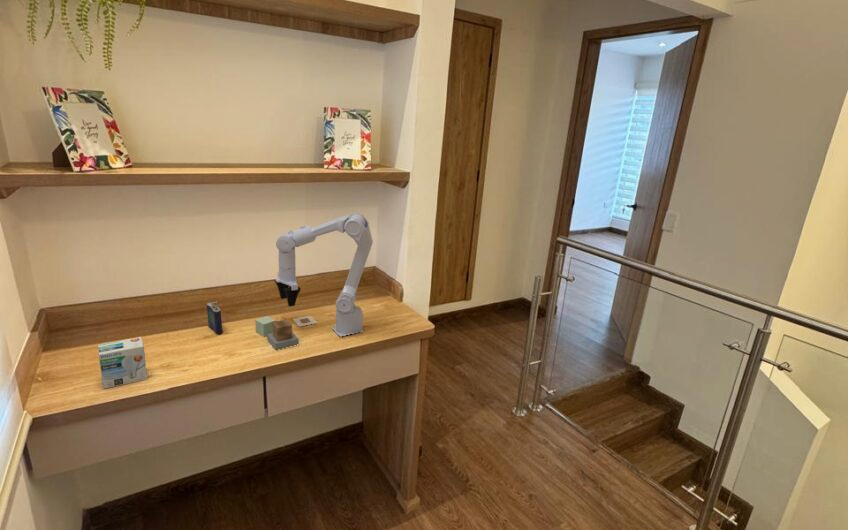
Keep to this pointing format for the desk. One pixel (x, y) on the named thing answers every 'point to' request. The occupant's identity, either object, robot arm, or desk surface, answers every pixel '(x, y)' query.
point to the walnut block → (282, 330)
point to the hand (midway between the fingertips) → (287, 301)
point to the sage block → (264, 325)
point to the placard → (304, 321)
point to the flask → (214, 318)
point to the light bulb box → (122, 362)
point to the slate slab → (282, 343)
